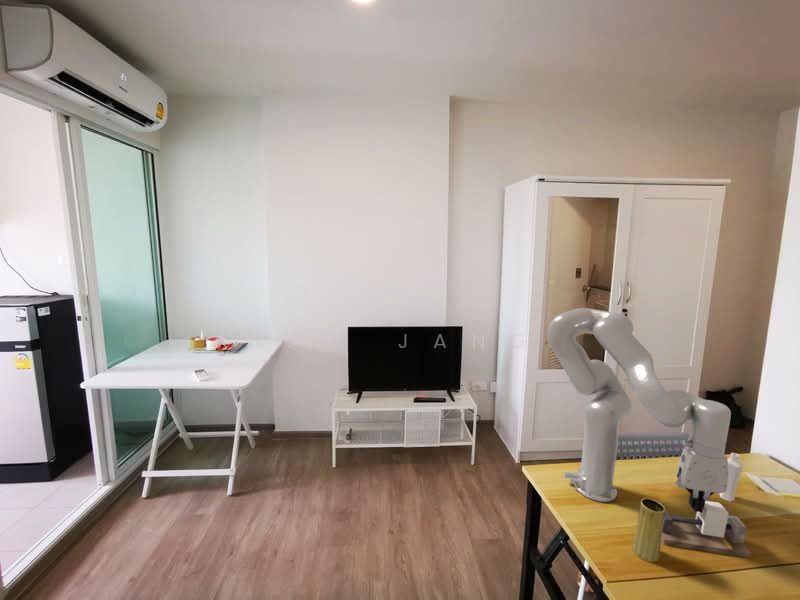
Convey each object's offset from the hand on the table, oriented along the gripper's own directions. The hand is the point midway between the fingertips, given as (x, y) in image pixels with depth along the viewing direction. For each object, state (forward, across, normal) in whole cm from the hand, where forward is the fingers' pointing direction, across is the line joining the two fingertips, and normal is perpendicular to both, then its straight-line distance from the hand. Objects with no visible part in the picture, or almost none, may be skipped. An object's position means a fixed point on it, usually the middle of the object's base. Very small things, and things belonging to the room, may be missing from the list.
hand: (695, 508), depth 105 cm
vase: (+9, -15, -9) cm, 19 cm away
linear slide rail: (+9, +1, 0) cm, 9 cm away
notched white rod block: (+6, +4, 0) cm, 7 cm away
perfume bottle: (+9, +19, +20) cm, 29 cm away
